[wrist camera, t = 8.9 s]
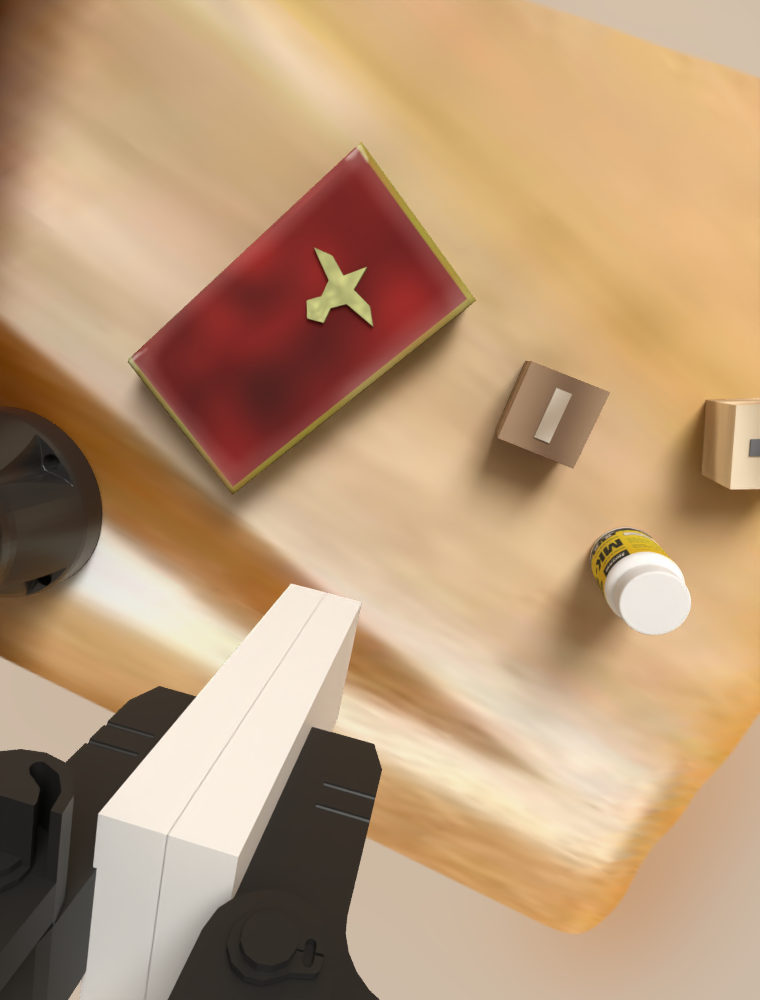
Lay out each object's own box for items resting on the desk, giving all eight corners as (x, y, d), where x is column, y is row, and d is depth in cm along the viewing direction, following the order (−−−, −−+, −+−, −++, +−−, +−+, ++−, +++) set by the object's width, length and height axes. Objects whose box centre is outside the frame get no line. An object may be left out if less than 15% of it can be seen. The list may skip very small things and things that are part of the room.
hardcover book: (152, 357, 46) (121, 356, 42) (369, 157, 41) (356, 135, 37) (252, 483, 47) (230, 495, 43) (476, 305, 42) (475, 299, 38)
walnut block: (495, 429, 43) (497, 438, 38) (525, 360, 42) (531, 361, 37) (562, 456, 43) (573, 469, 38) (594, 388, 41) (610, 392, 36)
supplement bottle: (603, 516, 43) (631, 553, 35) (669, 537, 43) (713, 579, 35) (578, 577, 44) (600, 626, 36) (642, 598, 44) (679, 652, 36)
